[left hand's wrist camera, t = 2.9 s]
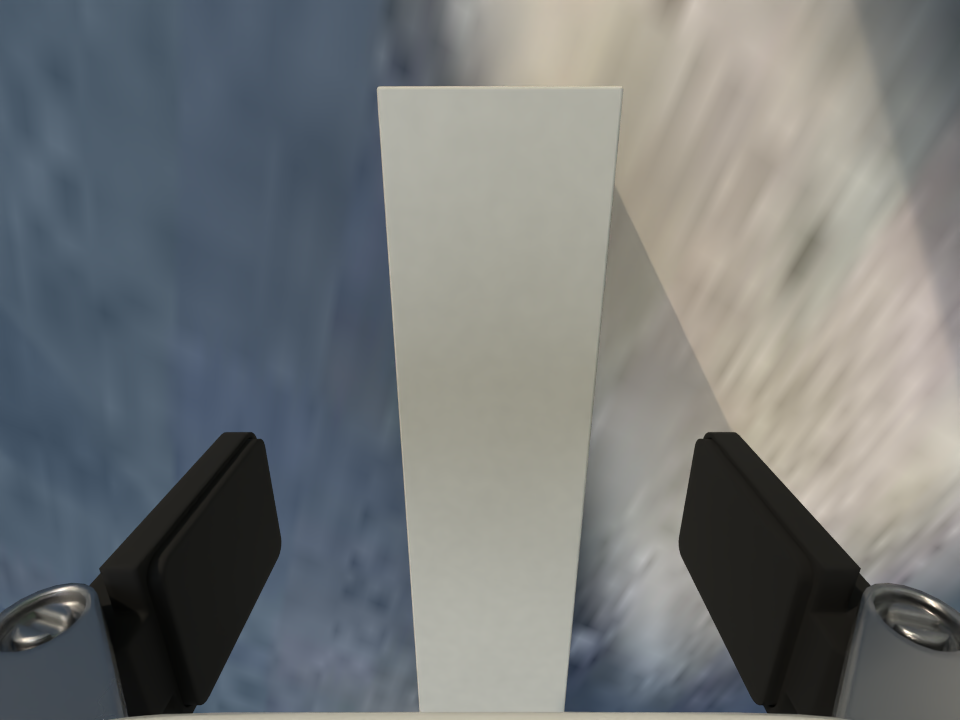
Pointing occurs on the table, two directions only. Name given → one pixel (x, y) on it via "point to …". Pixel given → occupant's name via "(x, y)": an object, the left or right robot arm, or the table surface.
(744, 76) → the table surface
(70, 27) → the table surface
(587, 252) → the post
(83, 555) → the table surface
